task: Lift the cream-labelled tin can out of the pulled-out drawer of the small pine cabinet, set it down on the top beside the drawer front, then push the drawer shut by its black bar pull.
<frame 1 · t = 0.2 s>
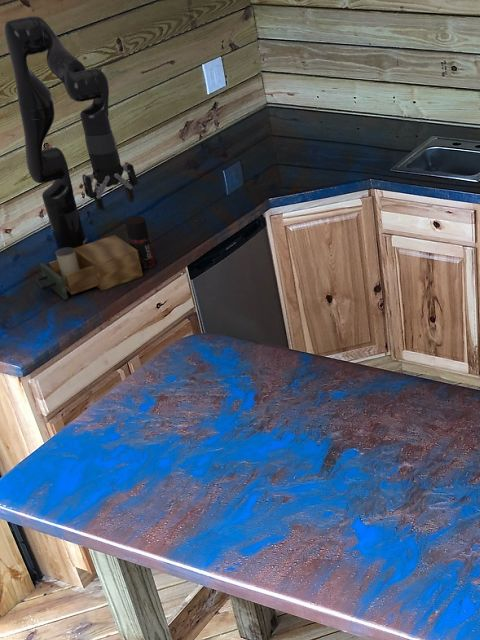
hand: (116, 205, 254), 29 cm above the table, tool pointing down, fingers open, 8 cm apart
drawer: (65, 277, 273), point 4 cm above the table, slide at 10.0 cm, touching tin can
deodorant: (145, 265, 289), on the table
tin can: (73, 281, 276), point 2 cm above the table, touching drawer
cabinet: (111, 275, 283), on the table
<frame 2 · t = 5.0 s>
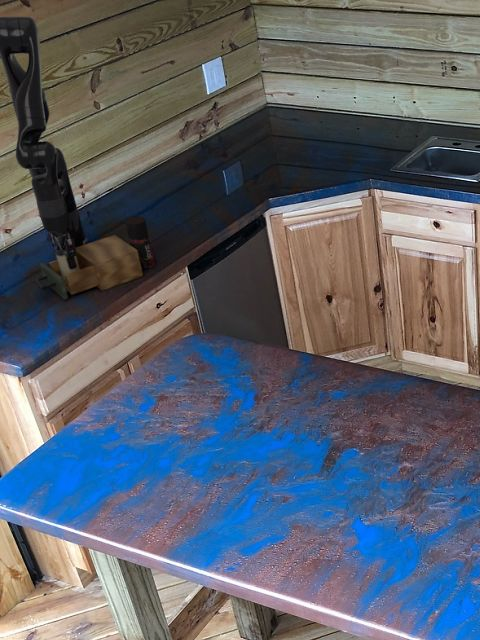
hand: (68, 264, 272), 8 cm above the table, tool pointing down, fingers closed on tin can, 5 cm apart
tin can: (73, 281, 276), point 2 cm above the table, touching drawer, gripper
everything else where it was.
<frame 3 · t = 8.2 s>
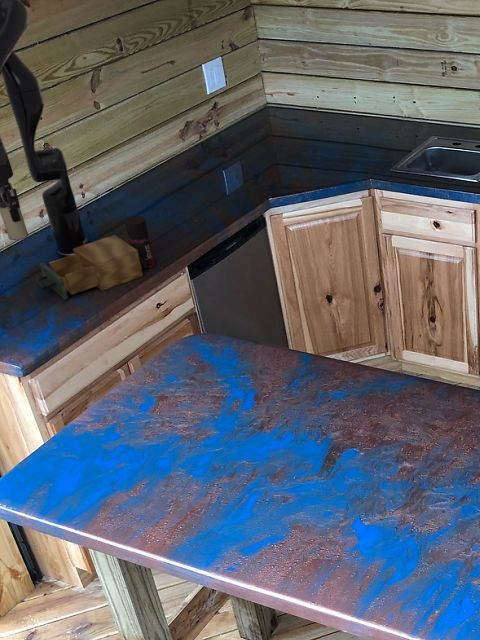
hand: (12, 217, 264), 23 cm above the table, tool pointing down, fingers closed on tin can, 5 cm apart
drawer: (65, 277, 273), point 4 cm above the table, slide at 10.0 cm
tin can: (18, 236, 267), point 17 cm above the table, touching gripper
everything else where it was.
when the fingers open (6 cm above the table, at t = 11.5 s): tin can stays where it is, on the table.
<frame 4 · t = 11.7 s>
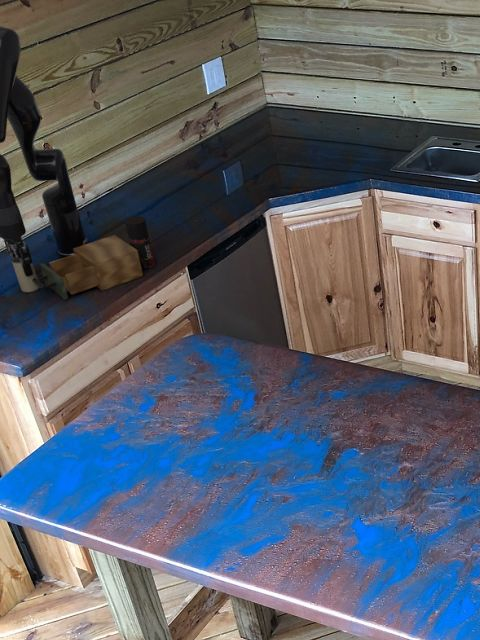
hand: (24, 271, 274), 6 cm above the table, tool pointing down, fingers open, 6 cm apart
tin can: (30, 288, 277), on the table
everything else where it was.
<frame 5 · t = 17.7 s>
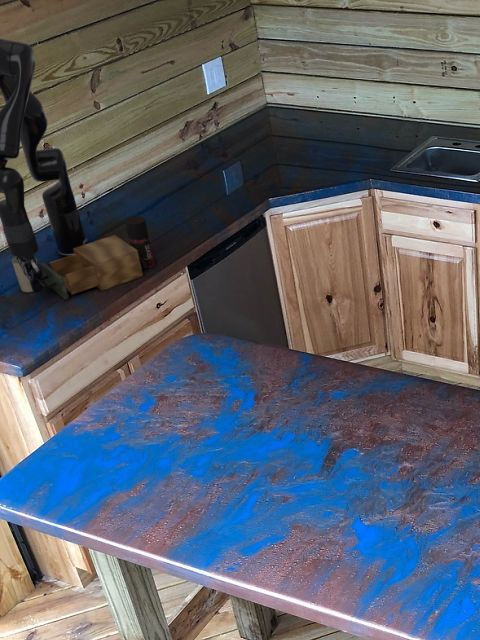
hand: (37, 291, 268), 4 cm above the table, tool pointing down, fingers closed
drawer: (65, 276, 273), point 4 cm above the table, slide at 9.8 cm, touching gripper
everything else where it was.
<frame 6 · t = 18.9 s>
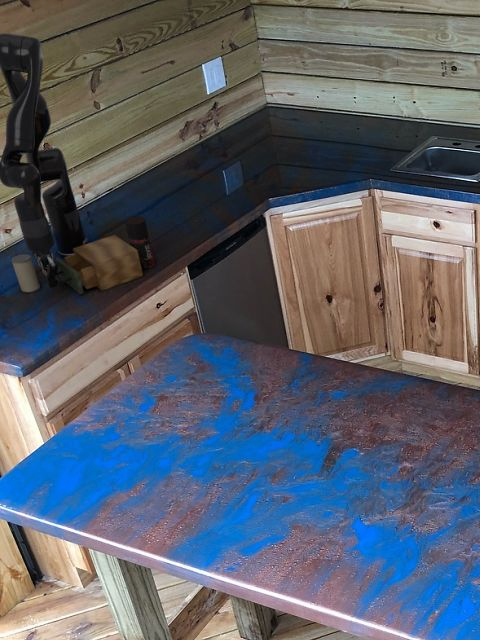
hand: (53, 285, 270), 4 cm above the table, tool pointing down, fingers closed
drawer: (80, 271, 276), point 4 cm above the table, slide at 5.1 cm, touching gripper
everything else where it was.
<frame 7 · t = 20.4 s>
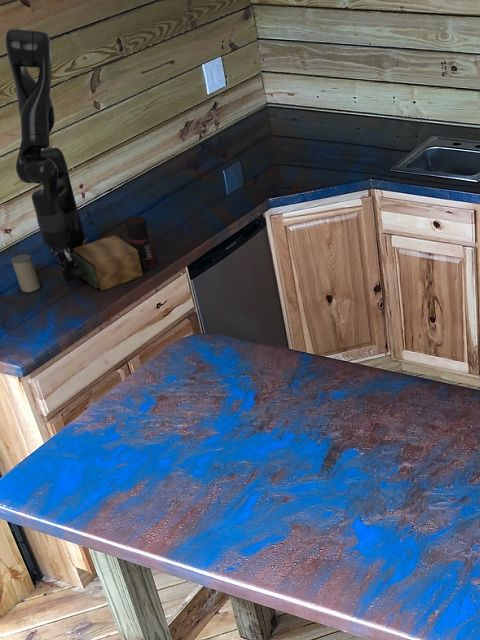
hand: (69, 280, 273), 4 cm above the table, tool pointing down, fingers closed
drawer: (95, 266, 279), point 4 cm above the table, slide at 0.1 cm, touching gripper
everything else where it was.
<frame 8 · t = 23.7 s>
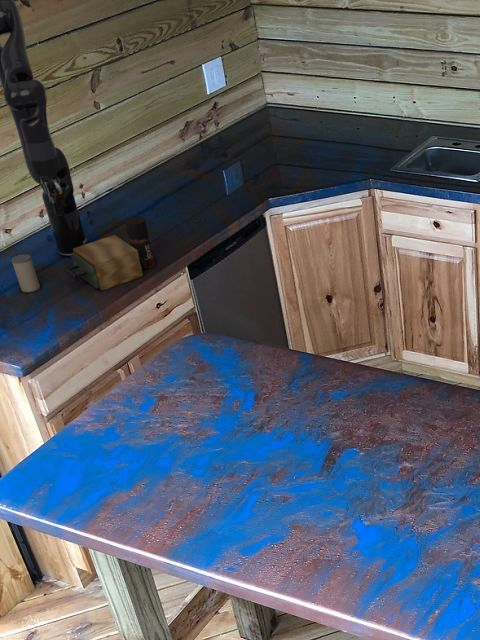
hand: (59, 213, 265), 23 cm above the table, tool pointing down, fingers closed
drawer: (95, 266, 279), point 4 cm above the table, slide at 0.1 cm
everything else where it was.
at the end: tin can inside the target area (0.2 cm from its centre), on the table; tin can tilted 0°; drawer slide at 0.1 cm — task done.
